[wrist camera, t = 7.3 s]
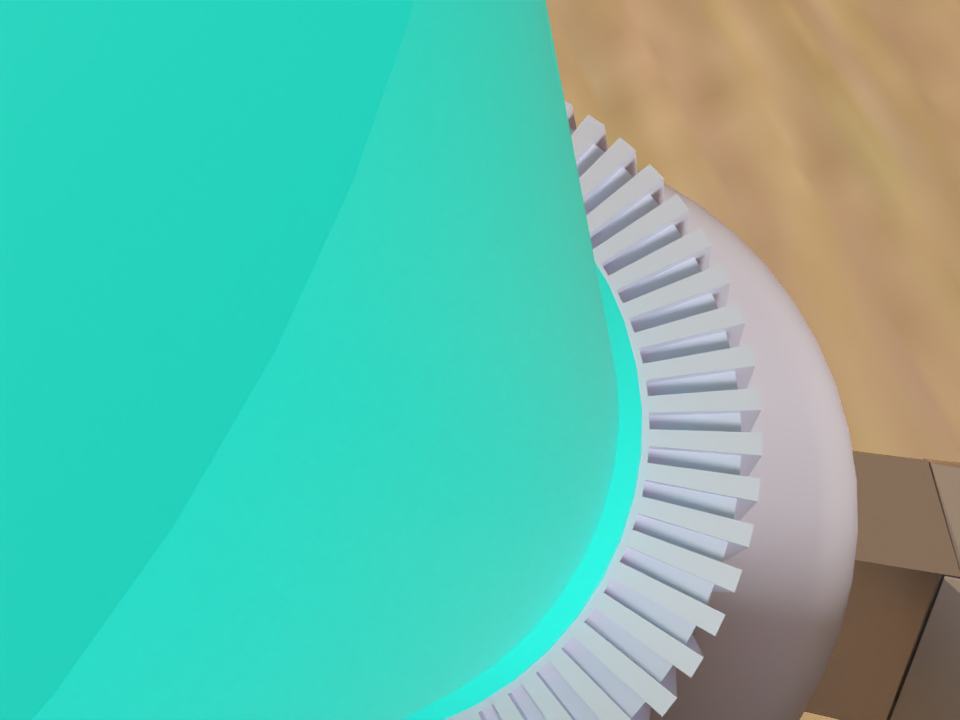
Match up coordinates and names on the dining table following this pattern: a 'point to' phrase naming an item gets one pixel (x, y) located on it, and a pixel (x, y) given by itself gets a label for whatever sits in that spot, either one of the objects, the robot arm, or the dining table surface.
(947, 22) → the dining table surface
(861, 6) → the dining table surface
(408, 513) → the spray bottle
